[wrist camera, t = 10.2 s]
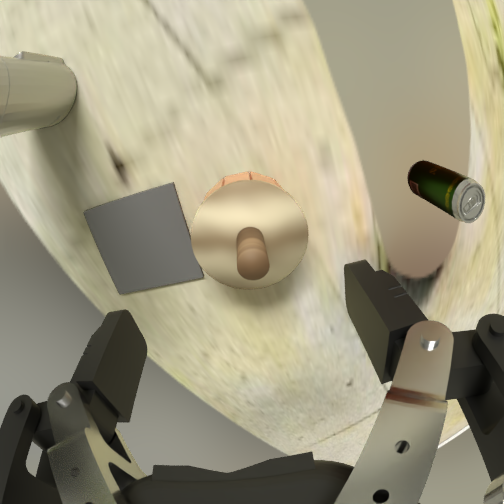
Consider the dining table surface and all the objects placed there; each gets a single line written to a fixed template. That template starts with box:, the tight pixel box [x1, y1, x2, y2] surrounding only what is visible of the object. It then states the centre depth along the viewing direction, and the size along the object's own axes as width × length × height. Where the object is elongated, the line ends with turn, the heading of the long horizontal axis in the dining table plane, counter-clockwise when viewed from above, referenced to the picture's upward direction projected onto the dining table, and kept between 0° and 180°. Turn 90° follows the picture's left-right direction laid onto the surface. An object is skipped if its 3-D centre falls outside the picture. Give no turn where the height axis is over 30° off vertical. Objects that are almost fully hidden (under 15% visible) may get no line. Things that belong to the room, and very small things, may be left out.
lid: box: [191, 180, 308, 289], centre depth 30 cm, size 13×13×7 cm
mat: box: [83, 182, 204, 294], centre depth 39 cm, size 14×14×1 cm
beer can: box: [408, 160, 485, 223], centre depth 31 cm, size 5×5×12 cm
